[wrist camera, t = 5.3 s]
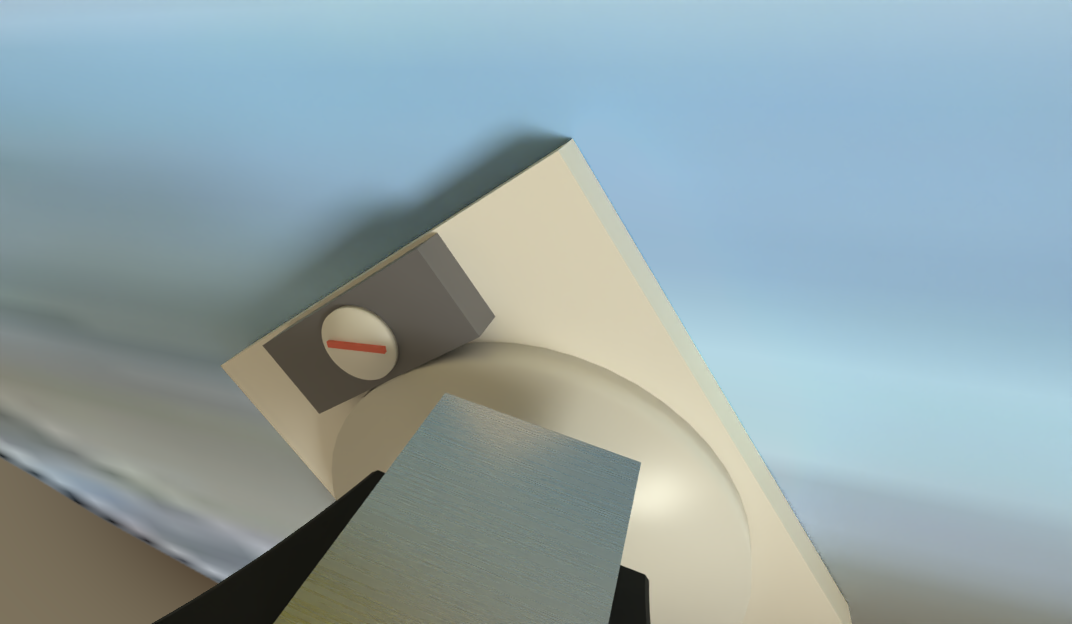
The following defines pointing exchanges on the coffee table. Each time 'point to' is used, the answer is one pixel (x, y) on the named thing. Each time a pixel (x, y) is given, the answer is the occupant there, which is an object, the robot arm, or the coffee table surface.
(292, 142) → the coffee table surface
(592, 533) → the block
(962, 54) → the coffee table surface
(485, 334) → the scale
